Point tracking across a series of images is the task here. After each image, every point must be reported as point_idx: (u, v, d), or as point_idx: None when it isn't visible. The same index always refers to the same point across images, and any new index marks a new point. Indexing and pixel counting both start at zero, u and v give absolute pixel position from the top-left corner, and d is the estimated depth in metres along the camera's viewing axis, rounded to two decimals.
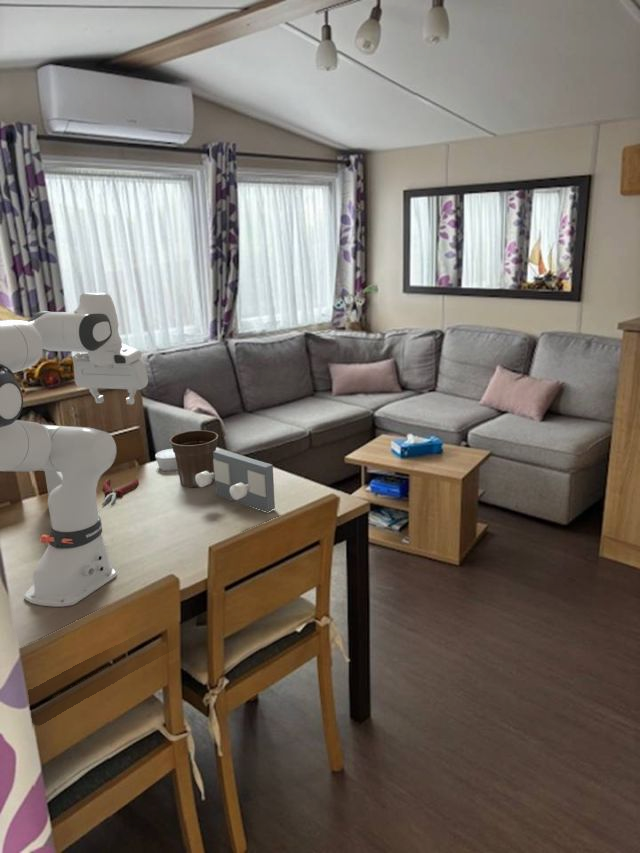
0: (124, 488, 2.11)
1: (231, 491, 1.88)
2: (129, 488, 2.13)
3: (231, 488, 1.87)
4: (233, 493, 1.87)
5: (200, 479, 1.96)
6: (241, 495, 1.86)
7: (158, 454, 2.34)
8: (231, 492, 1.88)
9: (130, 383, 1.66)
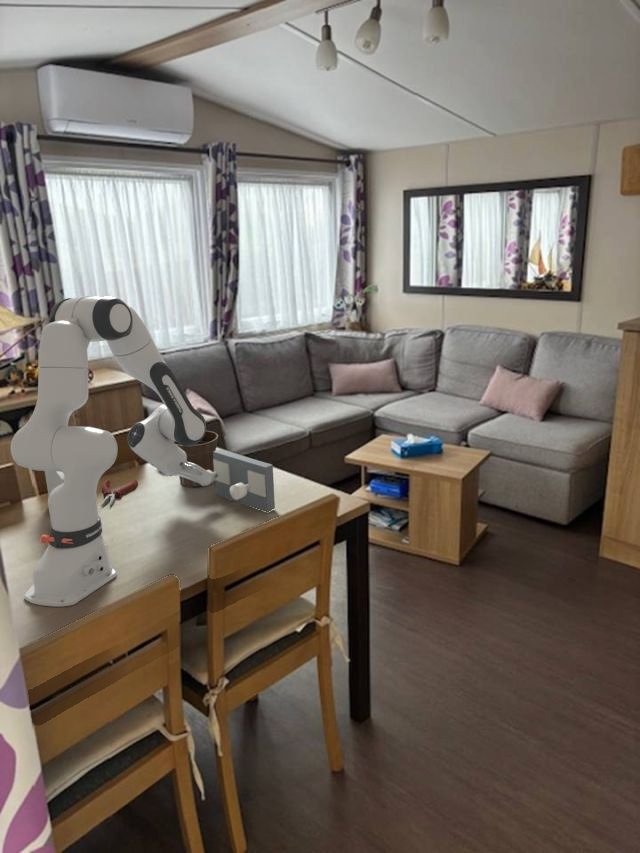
0: (123, 489, 2.10)
1: (231, 491, 1.88)
2: (128, 489, 2.12)
3: (231, 488, 1.87)
4: (233, 493, 1.87)
5: None
6: (241, 495, 1.86)
7: None
8: (231, 492, 1.88)
9: None
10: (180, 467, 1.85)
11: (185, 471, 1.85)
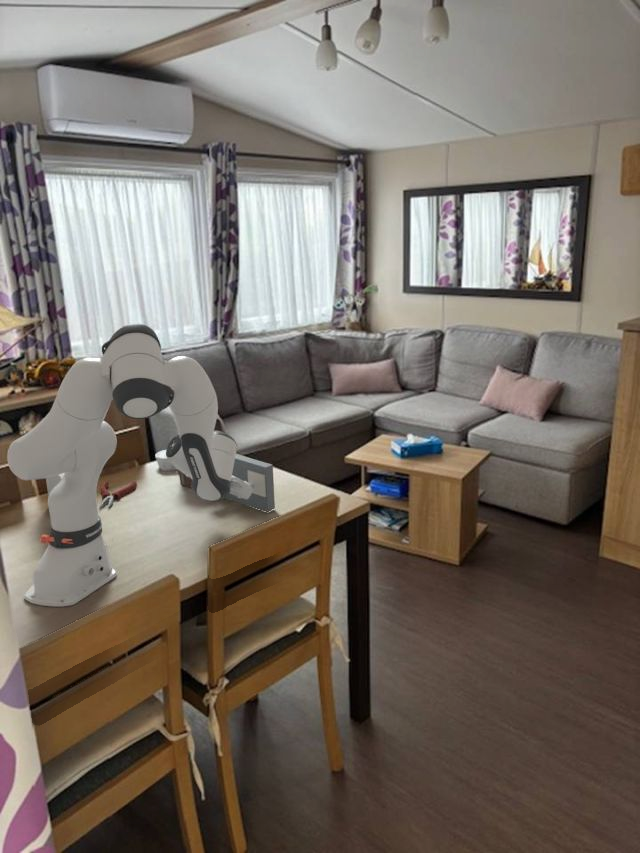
0: (122, 491, 2.09)
1: None
2: (126, 491, 2.11)
3: None
4: None
5: None
6: None
7: (158, 454, 2.34)
8: None
9: None
10: None
11: None
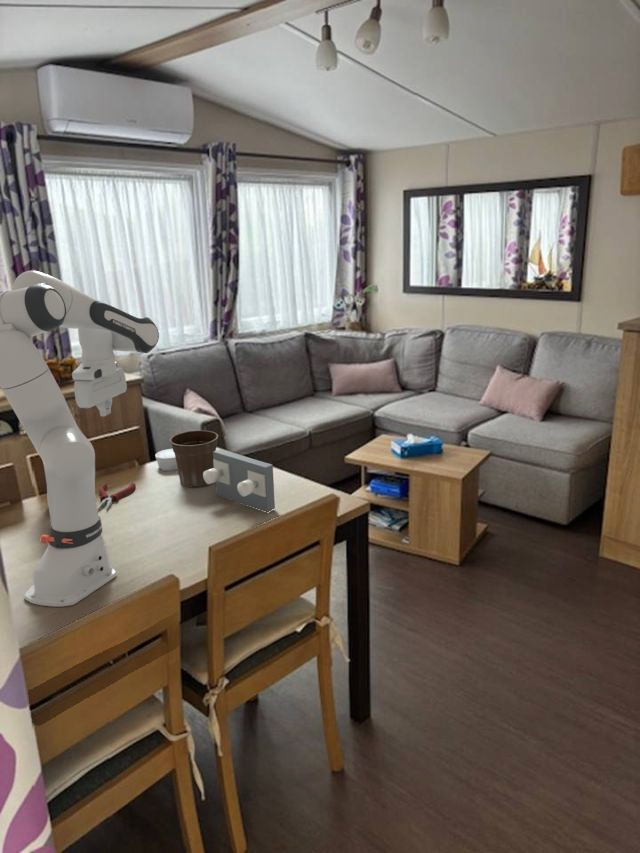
0: (120, 493, 2.08)
1: (239, 488, 1.90)
2: (125, 493, 2.09)
3: (239, 485, 1.89)
4: (241, 490, 1.89)
5: (208, 476, 1.98)
6: (249, 492, 1.88)
7: (158, 454, 2.34)
8: (239, 489, 1.90)
9: None
10: None
11: (116, 369, 1.83)
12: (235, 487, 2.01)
